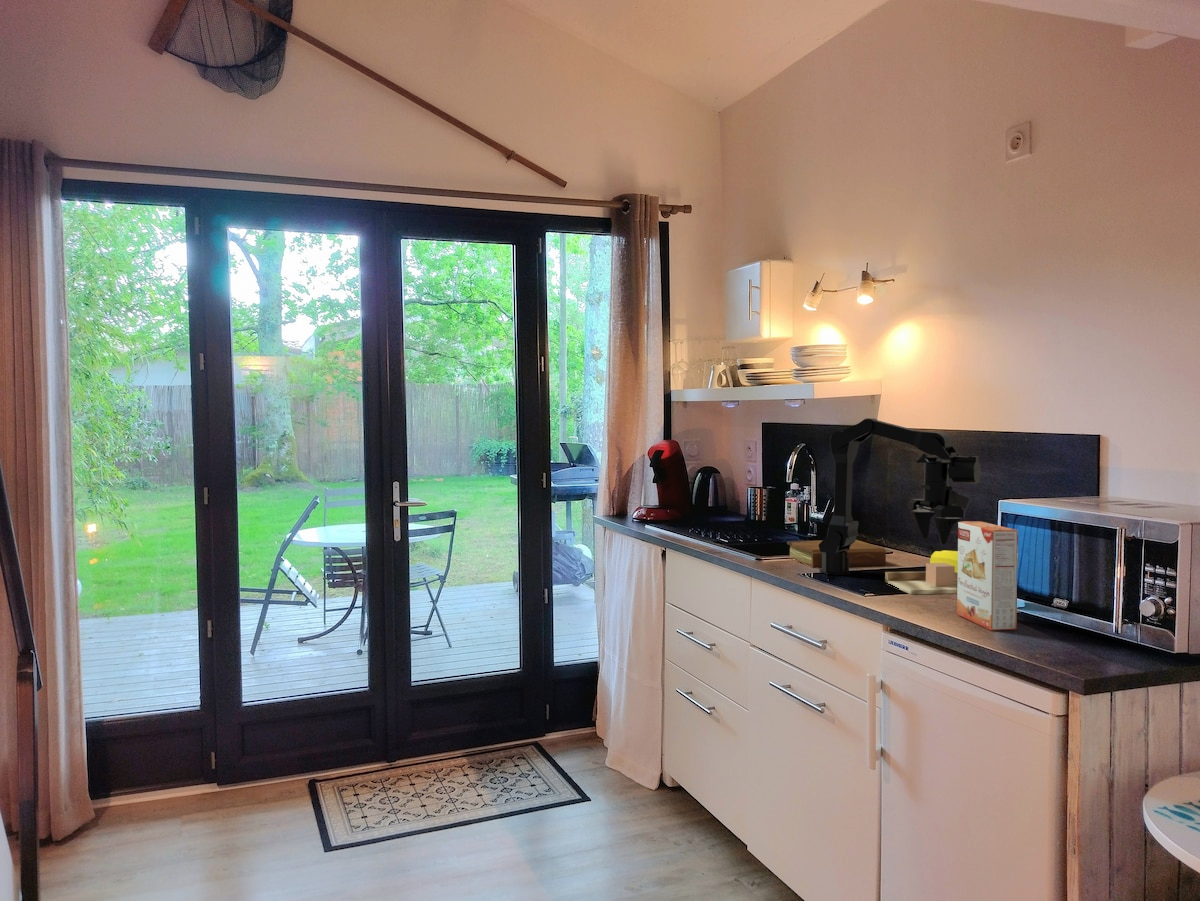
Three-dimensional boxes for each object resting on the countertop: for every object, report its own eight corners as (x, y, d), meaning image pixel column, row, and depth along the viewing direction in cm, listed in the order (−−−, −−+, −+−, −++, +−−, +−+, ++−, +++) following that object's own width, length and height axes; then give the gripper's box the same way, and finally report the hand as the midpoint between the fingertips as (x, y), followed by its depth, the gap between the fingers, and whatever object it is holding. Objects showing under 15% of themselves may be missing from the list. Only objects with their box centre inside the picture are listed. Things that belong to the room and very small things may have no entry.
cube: (954, 585, 214) (954, 566, 214) (935, 586, 214) (936, 566, 214) (943, 582, 219) (944, 562, 219) (925, 582, 219) (926, 563, 218)
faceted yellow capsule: (940, 569, 245) (921, 571, 241) (940, 546, 244) (921, 548, 241) (994, 580, 229) (974, 582, 225) (994, 555, 228) (975, 557, 225)
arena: (910, 594, 209) (911, 582, 209) (885, 583, 223) (885, 572, 223) (979, 592, 211) (979, 580, 211) (949, 582, 225) (949, 570, 225)
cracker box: (954, 615, 187) (956, 520, 186) (981, 615, 187) (983, 520, 186) (989, 631, 173) (991, 529, 172) (1017, 630, 173) (1019, 528, 172)
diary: (812, 570, 246) (812, 550, 246) (786, 559, 264) (786, 541, 264) (885, 567, 250) (885, 547, 250) (855, 557, 268) (855, 538, 268)
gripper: (986, 484, 210) (983, 547, 210) (947, 478, 228) (945, 536, 229) (943, 484, 208) (941, 547, 209) (907, 478, 227) (905, 536, 228)
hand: (934, 541), depth 219 cm, fingers open, 9 cm apart
